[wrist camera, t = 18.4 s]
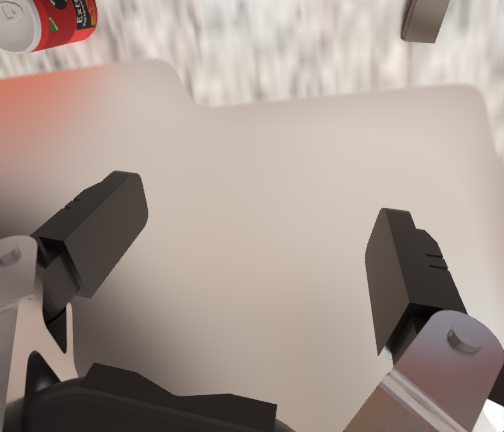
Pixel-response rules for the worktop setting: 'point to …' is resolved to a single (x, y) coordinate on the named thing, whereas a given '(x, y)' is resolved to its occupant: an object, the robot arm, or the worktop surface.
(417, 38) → the wooden board
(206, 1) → the worktop surface
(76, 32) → the canned food
